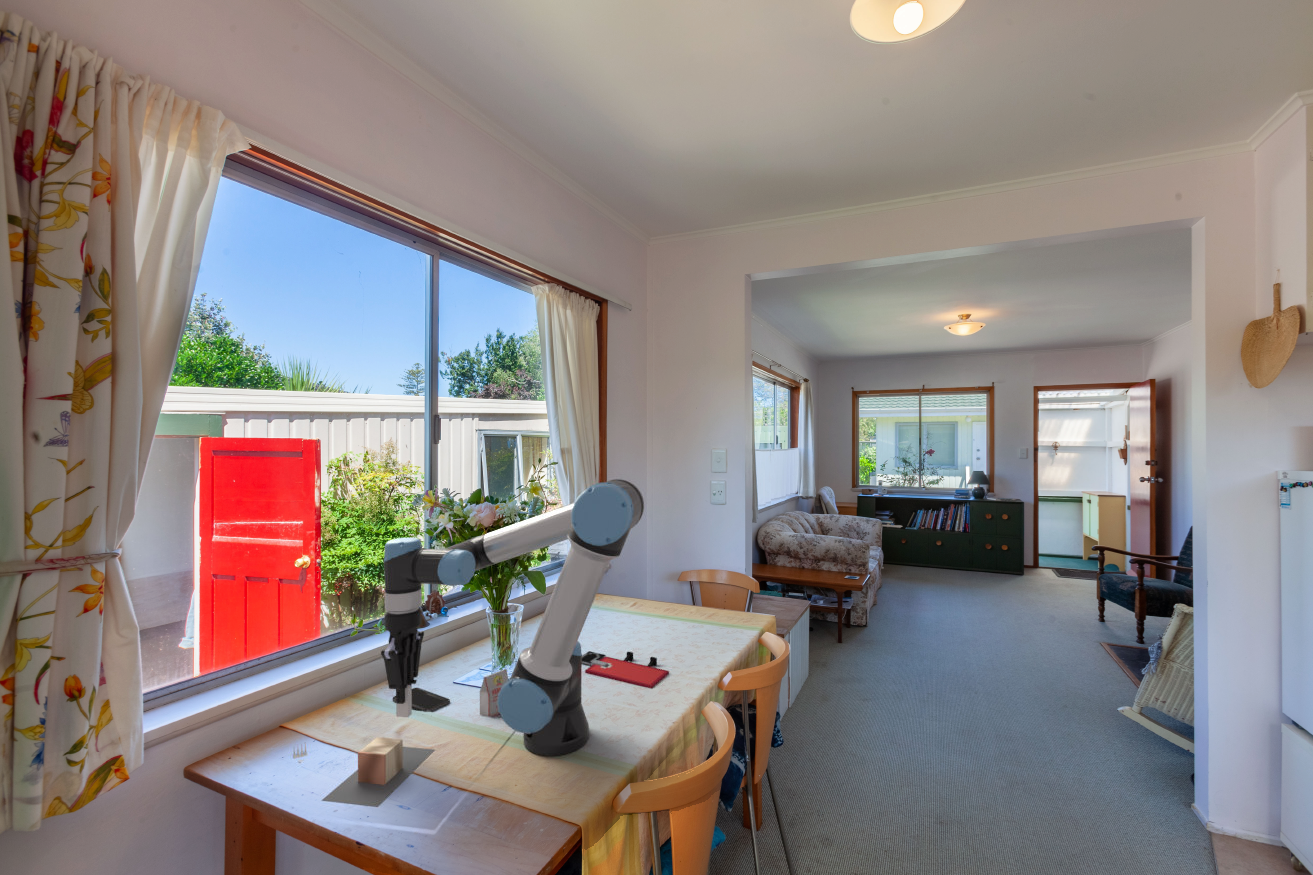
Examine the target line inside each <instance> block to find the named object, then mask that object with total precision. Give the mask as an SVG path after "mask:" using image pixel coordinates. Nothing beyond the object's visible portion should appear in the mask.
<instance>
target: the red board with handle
mask: <svg viewBox="0 0 1313 875" xmlns="http://www.w3.org/2000/svg"><path fill="white" fill-rule="evenodd" d="M633 661H634V652H633V651H627V652H626V656H625V658H624V659H623V660H622V659H619V658H615V657H610V656H607V654H604V653H599V652H595V651H590V650H589V651H587V652H586V653H584V654H582V664H586V665H590V666H589V667H588V668H586V669H585V670H584V673H585V674H587V675H592V676H595V677H600V678H605V679H609V680H613V681H618V682H622V683H625V684H629V685H630V684H631V685H634V686H639V687H642V688H647V689H653V688H654V687H655V686H656V685H658V684H659V683H660V682H661V681H662V680H664V679H665V678H666V677H668V675H669V674H670V670H665V669H661V668H657V665H658V658H657V657H655V656H650V657H649V662H648V664H647V665H646V664H641V663H635V662H633Z"/></svg>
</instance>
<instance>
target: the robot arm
mask: <svg viewBox="0 0 1313 875" xmlns="http://www.w3.org/2000/svg"><path fill="white" fill-rule="evenodd" d="M644 501H645V500H644V497H643V495H642V493H641V491H640V489H639V488H638V487H637V486H636V485H635V484H634V483H633V482H630V481H628V480H625V479H617V478H616V479H611V480H608V481H605V482H599V483H595V484H592V485H590V486H589V487H588V486H587V488H586V489H584V491H582V492H581V493H580V494H579V495H578V496H577V498H576V499H575V501H574V502H572V503H569V504H567V505H564V506H561V507H557V508H556V509H553V510H552V509H551V510H549V511H546V512H543V513H541V514H539V515H536V516H533V517H530V518H527V519H523V520H521V521H518V522H516V523H513V524H510V525H507V526H504V527H501V528H499V529H496V530H493V531H490V532H487V533H485V534H482V535H479V536H475V537H474V536H473V537H472V538H469V539H467V540H464V541H462V542H460V543H456V544H454V545H451V546H449V547H446V548H424V547H423V546H422V541H421V539H419V538H416V537H400V538H399V537H398V538H393V539H390V540H388V541H387V542H386V543H385V545H384V553H383V554H384V557H383V569H384V570H383V571H384V572H383V574H384V610H385V612H384V629H385V630H386V631H388V632H389V637H388V645H387V648H386V649H382V650H380V655H381V657H382V659H383V662H384V668H385V673H386V677H387V679H386V680H387V685H388V689H389V690H395V696H396V702H395V703H396V708H395V709H396V713H395V714H396V715H395V716H396V718H397V717H398V718H409V717H410V716H412V714H413V712H412V711H413V709H412V689H413V687H412V685H415V684H416V683H417V681H418V680H417V679H415V678H418V676H419V667H420V659H421V654H422V653H421V651H422V642H423V639H424V635H425V631H422V630H421V631H419V630H418V629H419V628H418V627H420V626H421V625H422V622H423V621H422V620H423V619H422V618H423V614H422V611H423V610H422V608H421V606H422V604H423V601H422V600H423V599H422V597H423V596H422V594H423V593H422V585H423V584H424V585H425V584H426V585H441V586H442V585H443V586H448V587H450V586H451V587H453V586H463V585H466V584H468V583H469V582H470V581H471V579H472V578H473V577H474V574H475V572H476V571H480V570H482V569H484V568H487V567H490V566H491V567H492V565H495V564H498V563H501V562H504V561H507V560H508V561H509V560H510V559H514V558H516V557H519V556H522V555H525V554H530V553H532V552H534V551H537V550H540V549H543V548H544V549H545V548H546V547H549V546H552V545H555V544H558V543H561V542H564V541H567V540H568V541H569V542H570V547H569V551H568V553H567V555H566V558H565V560H564V563H563V566H562V568H561V570H560V573H559V576H558V577H557V581H556V583H555V586H554V589H553V591H552V593H551V596H550V599H549V600H548V603H547V606H546V609H545V611H544V612H543V615H542V617H541V620H540V623H539V626H538V628H537V631H536V634H535V636H534V639H533V641H532V643H531V646H529V647H527V648H524V649H522V651H521V652H520V654H519V657H518V659H517V661H516V664H515V666H514V668H513V671H512V674H511V675H510V678H509V680H508V681H507V682H506V683H505V684H504V685H503V686H502V688H501V690H500V692H499V694H498V698H497V707H498V711H499V713H500V714H499V715H500V717H501V719H502V721H503V722H504V723H505V725H507V726H508V727H509V728H511V730H513V731H515V732H518V733H520V734H521V733H522V734H523V745H524V747H525V748H526V749H527V750H528V751H529V752H531V753H533V754H536V755H540V756H546V757H548V756H549V757H550V756H552V757H553V756H562V755H566V754H570V753H573V752H575V751H578V750H579V749H581V748H582V747H583V746H585V744H586V743H587V742H588V740H589V738H590V726H589V722H588V719H587V716H586V713H585V710H584V706H583V704H582V665H583V663H582V655H583V653H582V645H581V643H580V641H579V637H580V635H581V632H582V630H583V627H584V625H585V623H586V621H587V618H588V615H589V613H590V611H591V609H592V605H593V603H594V600H595V598H596V595H597V593H598V591H599V588H600V587H601V583H602V582H603V581H602V580H603V578H604V576H605V574H606V571H607V569H608V566H609V564H610V561H611V560H614V559H617V558H618V557H620V556H621V553H622V550H623V548H624V546H625V544H626V541H627V539H628V537H629V534H630V532H631V529H633V528H634V527H635V526H637V525H638V523H639V521H640V520H641V519H642V518H643V514H644V510H645V502H644Z"/></svg>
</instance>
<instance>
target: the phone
mask: <svg viewBox="0 0 1313 875" xmlns="http://www.w3.org/2000/svg"><path fill="white" fill-rule="evenodd" d="M392 702H393V703H396V695H394V696H392ZM450 703H451V700H450V699H449V698H448V697H445V696H443V695H439V694H436V693H434V692H431V691H429V690H426V689H423V688H420V687H412V711H415V712H417V711H418V712H424V713H426V712H427V713H433V712H436V711H437V710H440V709H442V708H443V707H446V706H449V705H450Z"/></svg>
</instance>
